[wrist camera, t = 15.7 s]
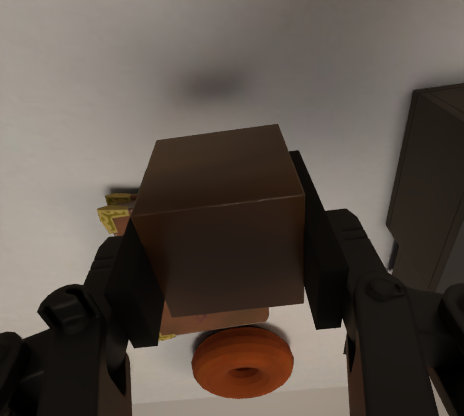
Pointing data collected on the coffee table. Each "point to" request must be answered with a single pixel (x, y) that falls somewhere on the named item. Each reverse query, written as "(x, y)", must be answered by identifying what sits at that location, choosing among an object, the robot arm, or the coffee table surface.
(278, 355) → the donut
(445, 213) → the cabinet
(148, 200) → the block
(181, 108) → the coffee table surface
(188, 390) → the coffee table surface
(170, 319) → the book
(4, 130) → the coffee table surface
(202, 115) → the coffee table surface
